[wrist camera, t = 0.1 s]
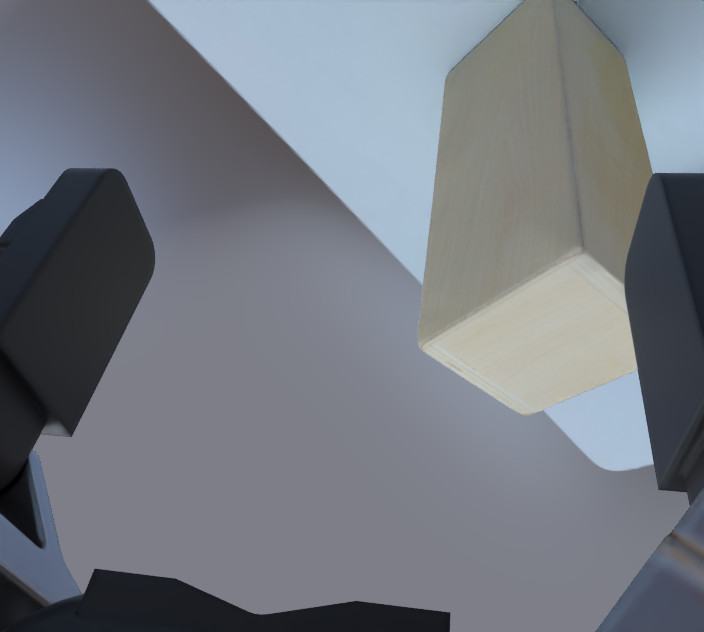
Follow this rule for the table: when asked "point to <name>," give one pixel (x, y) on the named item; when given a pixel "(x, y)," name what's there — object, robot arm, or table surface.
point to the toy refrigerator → (535, 211)
